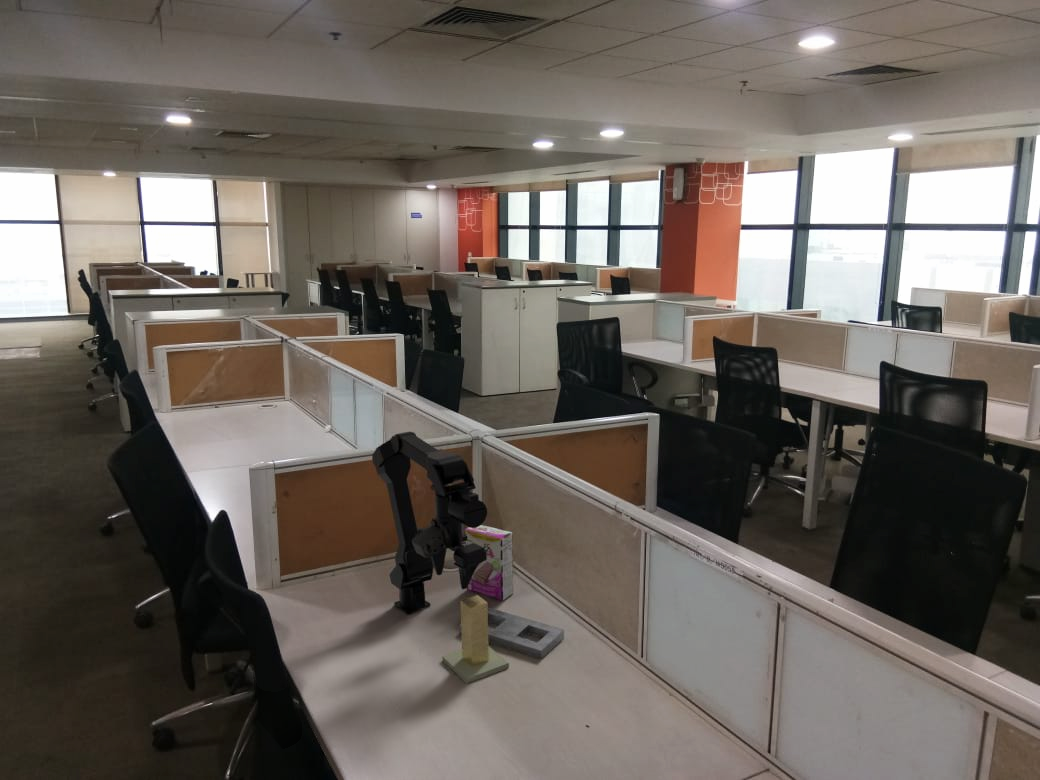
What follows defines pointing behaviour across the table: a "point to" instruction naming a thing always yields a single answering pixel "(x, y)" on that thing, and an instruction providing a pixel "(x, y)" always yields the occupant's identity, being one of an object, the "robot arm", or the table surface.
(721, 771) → the table surface
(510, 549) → the candy bar box
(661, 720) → the table surface
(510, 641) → the steel rail plate
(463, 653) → the brass peg
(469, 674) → the olive rubber mat
